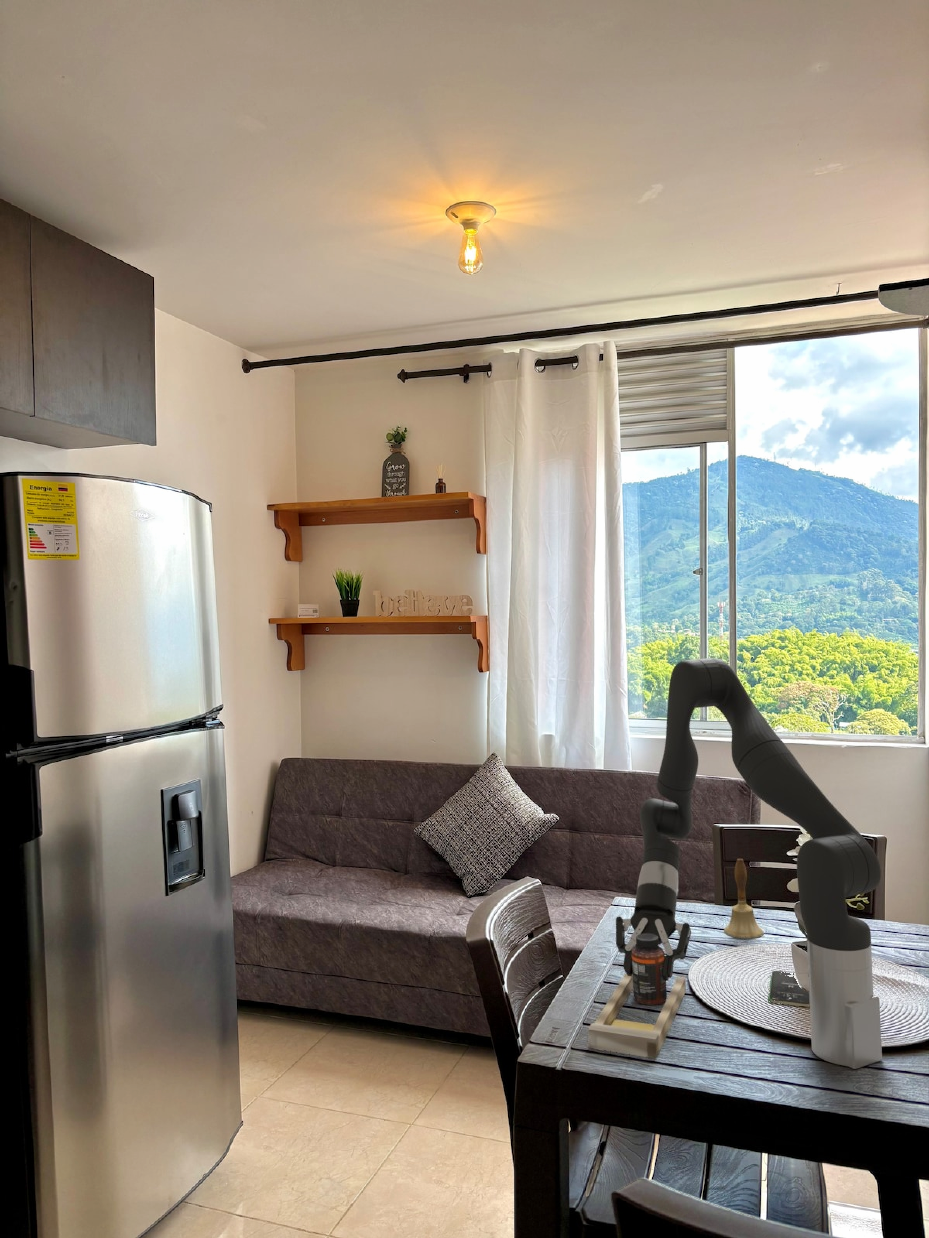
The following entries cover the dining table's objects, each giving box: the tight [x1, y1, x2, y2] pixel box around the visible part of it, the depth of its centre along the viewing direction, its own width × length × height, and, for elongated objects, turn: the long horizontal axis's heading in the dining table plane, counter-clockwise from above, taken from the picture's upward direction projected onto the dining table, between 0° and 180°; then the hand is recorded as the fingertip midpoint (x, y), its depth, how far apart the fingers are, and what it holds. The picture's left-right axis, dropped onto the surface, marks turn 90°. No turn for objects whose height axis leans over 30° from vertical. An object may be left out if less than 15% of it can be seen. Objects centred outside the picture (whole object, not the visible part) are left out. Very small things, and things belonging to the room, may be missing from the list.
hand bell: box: [723, 858, 764, 939], centre depth 192 cm, size 8×8×16 cm
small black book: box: [767, 970, 810, 1008], centre depth 160 cm, size 8×1×15 cm
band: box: [611, 1018, 655, 1032], centre depth 145 cm, size 5×8×1 cm, turn 67°
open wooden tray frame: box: [587, 972, 687, 1060], centre depth 150 cm, size 28×11×3 cm, turn 157°
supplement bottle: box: [632, 933, 668, 1006], centre depth 158 cm, size 6×6×11 cm
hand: (647, 976), depth 156 cm, fingers closed on supplement bottle, 6 cm apart
